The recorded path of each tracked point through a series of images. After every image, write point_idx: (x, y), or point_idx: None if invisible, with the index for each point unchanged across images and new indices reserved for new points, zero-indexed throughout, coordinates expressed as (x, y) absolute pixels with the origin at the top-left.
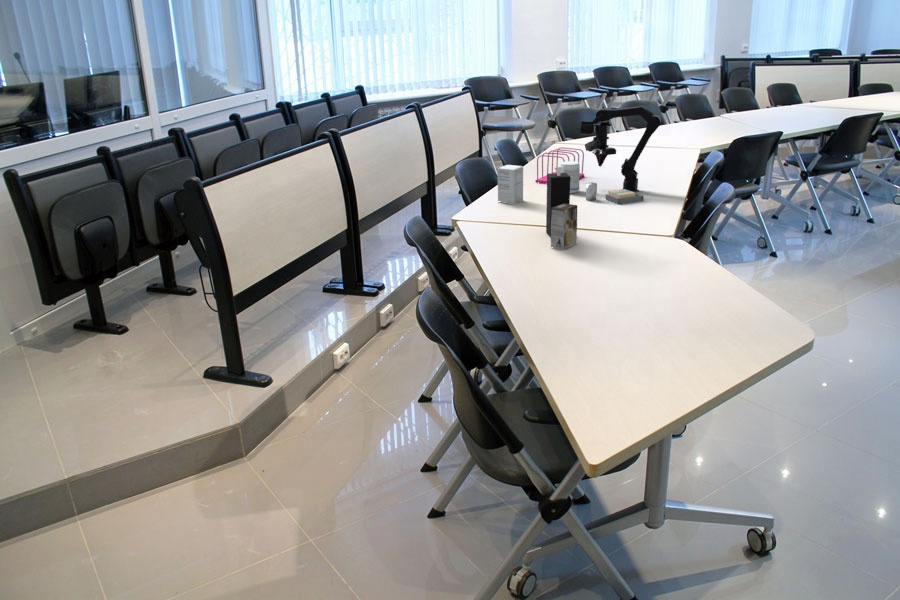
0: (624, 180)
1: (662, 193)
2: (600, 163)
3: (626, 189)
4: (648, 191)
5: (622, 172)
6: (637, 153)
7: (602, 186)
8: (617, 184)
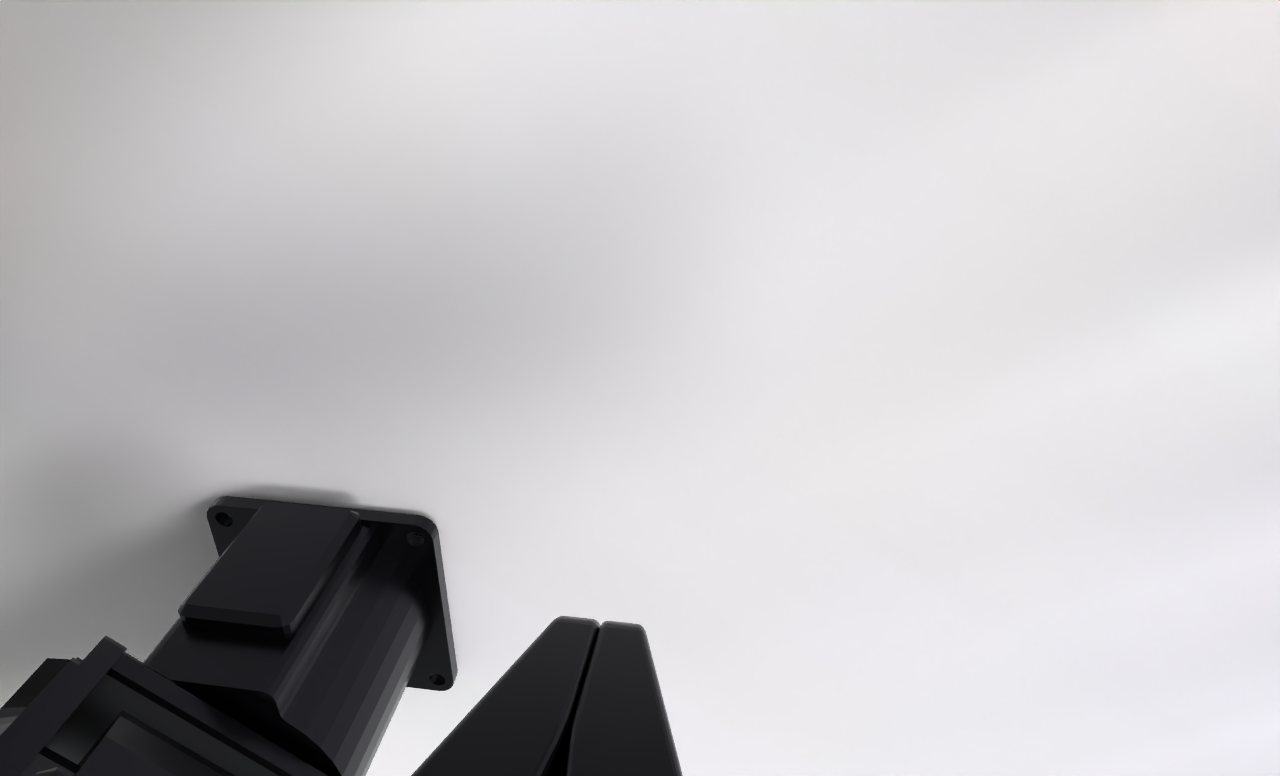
0: (266, 660)
1: None
2: (463, 755)
3: (250, 523)
4: None
5: (75, 773)
6: None
7: (916, 459)
8: (860, 715)
